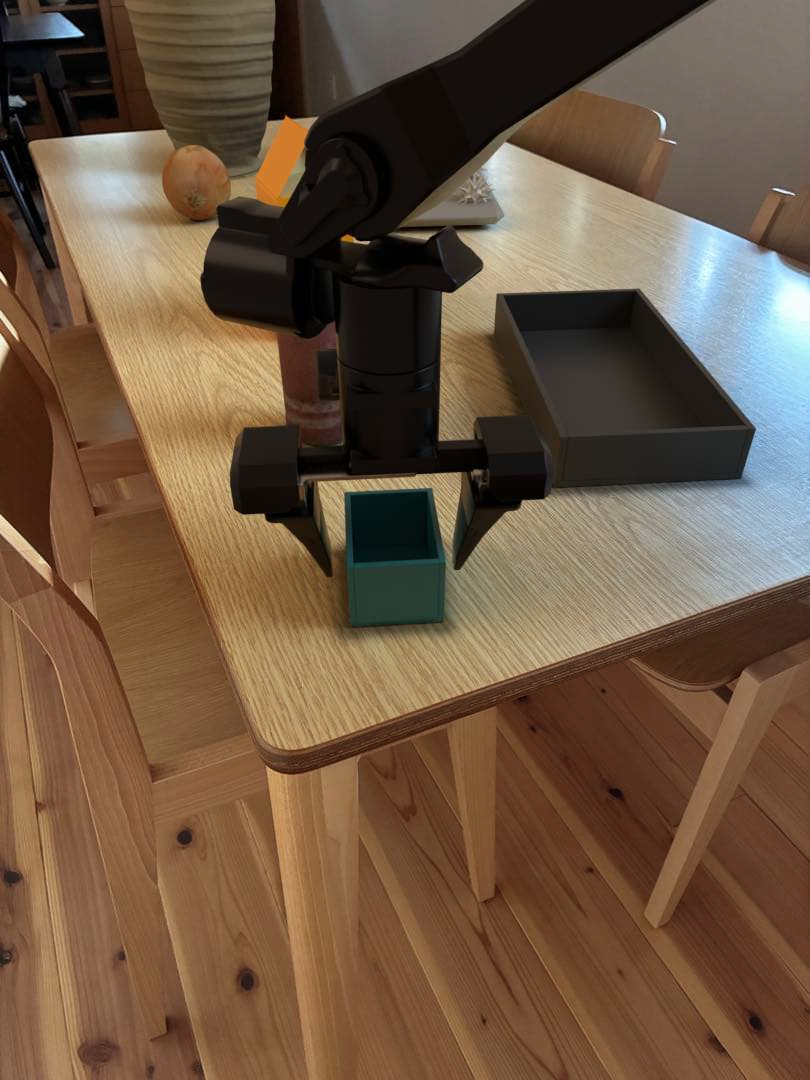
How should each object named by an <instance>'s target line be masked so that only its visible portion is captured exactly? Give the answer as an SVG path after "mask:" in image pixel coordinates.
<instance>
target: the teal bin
mask: <svg viewBox="0 0 810 1080" xmlns="http://www.w3.org/2000/svg"><path fill="white" fill-rule="evenodd" d="M343 496H344V497H343V498H344V499H343V500H344V528H345V529H344V531H345V560H346V561H345V563H346V564H345V565H346V579H347V580H346V581H347V582H346V583H347V594H348V595H347V596H348V597H347V598H348V610H349V611H348V612H349V624H350V625H349V626H350V628H362V627H363V628H364V627H380V626H396V625H397V626H398V625H412V624H413V625H414V624H430V623H444V622H445V604H446V603H445V601H446V577H447V573H446V572H447V560H446V555H445V549H444V544H443V537H442V533H441V528H440V523H439V517H438V511H437V505H436V501H435V496H434V490H433V487H423V488H421V487H420V488H402V489H401V488H399V489H381V490H380V489H379V490H359V491H344V493H343Z"/></svg>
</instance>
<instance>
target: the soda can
mask: <svg viewBox="0 0 810 1080" xmlns="http://www.w3.org/2000/svg"><path fill="white" fill-rule="evenodd" d="M276 340H277V348H278V359H279V367H280V378H281V384H282V385H281V386H282V394H283V404H284V413H285V422H286V423H285V424H286V426H289V425H299V427H300V430H301V439H302V445H306V446H310V447H322V446H336V445H337V444H340V443H342V432H341V416H340V401H323V402H320V401H319V399H318V387H317V369H316V349H337V348H336V332H335V321H334V322H332V323H330V324H328V325H327V326H326V328H325V329H324V330H323V331H322V332H321V333H320V334H319V335H318V336H316V337H314V338H310V339H304V338H299V337H295V336H290V335H286V334H282V333H277V332H276Z"/></svg>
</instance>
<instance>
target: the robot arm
mask: <svg viewBox="0 0 810 1080" xmlns="http://www.w3.org/2000/svg"><path fill="white" fill-rule="evenodd" d="M715 2H717V0H523V1H522V2H521V3H520V4H518V5H516V7H514V8H513V9H511V10H510V11H509V12H508V13H506V14H505V15H504V16H502V17H501V18H500V19H499V20H497V21H496V22H494V23H493V24H492V25H490V26H489V27H488V28H486V29H485V30H484V31H482V32H481V33H479V35H477V36H475V37H474V38H473V39H472V40H470V41H469V42H468V43H467V44H465V45H464V46H462V47H461V48H459V49H458V50H456V51H454V52H452V53H449V54H448V55H446V56H443V57H441V58H439V59H437V60H435V61H433V62H431V63H428V64H426V65H423V66H422V67H419V68H417V69H414V70H412V71H410V72H408V73H405V74H403V75H401V76H398V77H396V78H394V79H391V80H389V81H387V82H385V83H381V84H380V85H378V86H376V87H374V88H372V89H369V90H367V91H366V92H363V93H361V94H359V95H357V96H355V97H352V98H350V99H347V101H344V102H342V103H340V104H338V105H336V106H334V107H332V108H330V109H328V110H326V111H325V112H323V113H322V114H320V115H319V116H318V117H317V118H316V120H315V121H314V122H313V123H312V124H311V125H310V127H309V129H308V133H307V135H306V138H305V140H304V145H305V148H306V155H305V172H304V174H303V175H302V177H301V179H300V181H299V183H298V184H297V186H296V188H295V190H294V192H293V193H292V195H291V197H290V199H289V201H288V202H287V204H286V206H285V207H281V206H274V205H269V204H266V203H264V202H261V201H259V200H257V198H252V197H247V196H246V197H245V196H236V197H234V198H232V199H230V200H229V201H227V202H224V203H222V204H219V205H218V206H217V208H216V211H217V215H216V216H217V223H218V227H217V228H216V229H215V231H214V233H213V235H211V238H210V239H209V242H208V245H207V248H206V250H205V255H204V260H203V267H202V268H203V269H202V272H201V274H200V276H199V282H200V288H201V292H202V295H203V300H204V302H205V304H206V305H207V307H208V309H209V311H210V313H212V314H213V315H214V316H215V317H216V318H218V319H220V320H221V321H224V322H229V323H234V324H238V325H242V326H246V327H252V328H255V329H261V330H263V331H269V332H273V333H276V334H277V333H282V334H286V335H290V336H295V337H299V338H304V339H310V338H314V337H316V336H318V335H319V334H320V333H321V332H322V331H323V330H324V329H325V328H326V326H327V325H328V324H330V323H332V322H334V321H335V332H336V348H337V349H316V369H317V387H318V399H319V401H320V402H323V401H340V416H341V432H342V442H341V443H342V445H329V446H303V443H302V439H301V430H300V427H299V425H289V426H287V425H269V426H268V425H267V426H250V427H249V426H246V427H245V426H244V427H243V428H242V429H241V430H240V432H239V433H238V434H237V435H236V437H235V440H234V445H233V451H232V457H231V462H230V469H229V488H230V493H231V499H232V505H233V510H234V511H235V512H237V513H239V514H240V515H242V516H244V515H245V516H247V515H250V516H251V515H264V519H265V521H266V522H267V523H270V524H281V525H283V526H284V527H285V529H286V530H288V531H289V533H290V534H291V535H293V537H295V538H296V539H297V540H298V541H299V542H300V544H301V545H303V547H304V548H305V549H306V550H307V552H308V553H309V554H310V556H311V557H312V559H313V560H314V561H315V563H316V564H317V566H318V567H319V568H320V570H321V571H322V572H323V573H324V575H325V577H326V578H333V577H334V564H333V563H334V562H333V549H332V544H331V540H330V536H329V531H328V526H327V522H326V518H325V514H324V510H323V509H324V508H323V505H322V501H321V496H320V489H319V482H320V483H321V482H338V481H360V480H377V479H378V480H380V479H381V480H382V479H399V478H400V479H401V478H414V477H416V476H417V475H435V474H456V473H457V474H458V473H460V475H461V476H460V491H459V497H458V503H457V511H456V517H455V523H454V529H453V536H452V541H451V543H452V549H451V550H452V551H451V553H452V554H451V555H452V556H451V558H452V559H451V561H452V567H453V570H454V571H461V569H462V568H463V566H464V565H465V564H466V562H467V560H468V559H469V558H470V556H471V555H472V553H473V552H474V551H475V549H476V548H477V546H478V545H479V543H480V542H481V540H482V539H483V537H485V535H487V533H488V532H489V531H490V530H491V529H492V528H493V527H494V525H496V523H497V522H499V520H500V519H501V518H502V517H503V516H504V515H505V514H506V513H508V512H515V511H519V510H520V509H521V508H522V505H523V504H522V503H523V501H540V500H542V501H543V500H545V499H546V498H548V497H549V496H550V495H551V494H552V489H553V483H552V481H553V473H554V468H553V457H552V455H551V452H550V450H549V447H548V445H547V443H546V440H545V438H544V435H543V433H542V431H541V428H540V426H539V424H538V423H537V422H536V421H535V420H534V418H533V417H532V416H531V415H525V414H515V415H514V414H513V415H511V414H510V415H491V416H490V415H489V416H476V418H474V419H475V420H474V422H473V430H472V431H473V433H472V434H471V435H470V436H469V437H468V438H461V439H459V438H458V439H440V413H441V412H440V409H441V408H440V406H441V404H440V403H441V366H442V365H441V364H442V363H441V362H442V361H441V360H442V316H443V312H442V311H443V293H446V294H453V293H455V292H456V291H458V290H459V289H460V288H461V287H463V286H464V285H466V283H468V282H469V281H471V280H472V279H473V278H474V277H476V276H477V275H478V274H479V273H480V272H482V271H483V269H484V262H483V260H482V258H481V257H480V256H479V255H478V254H477V253H476V252H475V251H474V250H473V249H472V248H471V247H469V246H468V245H467V244H466V243H465V242H463V240H461V237H459V235H458V233H457V231H456V229H455V227H454V226H453V225H452V226H445V227H443V228H442V229H440V230H439V231H437V232H436V233H434V234H433V235H431V236H429V238H428V239H425V238H418V237H413V236H407V235H400V234H393V232H395V231H396V230H399V229H400V228H402V227H401V226H403V225H405V224H407V223H408V222H410V221H412V220H413V219H415V218H417V217H418V216H420V215H422V214H424V213H425V212H427V211H429V210H430V209H432V208H434V207H436V206H437V205H439V204H441V203H442V202H443V201H444V200H446V199H447V198H448V197H449V196H450V195H451V194H453V193H454V192H455V191H456V190H457V189H458V188H459V187H460V186H461V185H462V184H463V183H464V182H466V181H467V180H468V179H469V178H470V177H471V176H472V175H473V174H474V173H475V172H476V171H477V170H479V169H480V168H483V166H484V165H485V164H486V163H487V162H488V161H489V160H491V158H492V157H493V156H494V155H495V154H496V153H497V151H498V150H499V149H501V147H502V146H503V145H504V144H506V142H507V141H508V140H509V138H511V137H512V136H513V135H514V134H515V133H516V132H517V131H518V130H520V128H521V127H522V126H524V124H526V123H527V122H528V121H529V120H531V119H532V118H534V117H535V116H536V115H538V114H540V113H541V112H543V111H545V110H546V109H548V108H549V107H551V106H552V105H554V104H555V103H557V102H559V101H560V100H562V99H564V98H565V97H567V96H568V95H570V94H571V93H574V91H576V90H578V89H580V88H581V87H583V86H584V85H586V84H587V83H589V82H590V81H592V80H593V79H595V78H596V77H598V76H600V75H601V74H603V73H605V72H606V71H608V70H609V69H611V68H613V67H614V66H615V65H617V64H619V63H620V62H622V61H624V60H625V59H627V58H628V57H630V56H632V55H633V54H635V53H636V52H638V51H639V50H641V49H643V48H644V47H646V46H647V45H649V44H650V43H652V42H653V41H655V40H656V39H658V38H660V37H661V36H663V35H664V34H666V33H668V32H669V31H671V30H672V29H674V28H676V27H677V26H679V25H681V24H682V23H684V22H686V20H688V19H690V18H691V17H694V15H696V14H697V13H699V12H702V10H704V9H705V8H707V7H709V6H710V5H712V4H713V3H715ZM346 235H350V236H352V237H354V240H356V241H357V242H355V241H354V242H348V241H342V240H341V238H342V237H344V236H346ZM361 242H368V243H361Z"/></svg>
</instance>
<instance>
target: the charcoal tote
mask: <svg viewBox="0 0 810 1080" xmlns="http://www.w3.org/2000/svg"><path fill="white" fill-rule="evenodd" d="M494 311H495V312H494V323H493V324H494V326H493V336H494V339H495V342H496V344H497V346H498V349H499V351H500V354H501V358H502V359H503V362H504V365H505V367H506V369H507V372H508V374H509V377H510V379H511V382H512V384H513V387H514V389H515V392H516V395H517V397H518V400H519V402H520V405H521V407H522V409H523V412H524V415H531V416H532V417H533V418H534V420H535V421H536V422H537V423H538V424H539V426H540V428H541V431H542V433H543V435H544V438H545V440H546V443H547V445H548V447H549V450H550V452H551V455H552V457H553V468H554V473H553V481H552V487H553V488H572V487H573V488H574V487H575V488H576V487H593V486H594V487H595V486H612V485H613V486H614V485H615V486H616V485H617V486H618V485H635V484H636V485H637V484H655V483H656V484H657V483H675V482H678V483H679V482H693V481H694V482H695V481H698V482H699V481H713V480H714V481H715V480H716V481H717V480H736V479H742V478H743V474H744V470H745V467H746V464H747V460H748V457H749V454H750V451H751V448H752V444H753V440H754V437H755V434H756V431H757V428H756V426H755V425H754V424H753V423H752V422H751V420H750V419H749V418H748V416H746V415H745V413H744V412H743V411H742V409H740V407H739V406H738V404H736V402H735V401H734V399H733V398H732V397H731V396H730V395H729V394H728V393H727V392H726V390H725V389H724V388H723V386H722V385H721V384H720V383H719V382H718V381H717V379H716V378H715V377H714V376H713V375H712V374H711V372H710V371H709V370H708V369H707V368H706V366H705V365H704V364H703V363H702V361H700V359H699V358H698V356H696V354H695V353H694V352H693V351H692V350H691V348H690V347H689V346H688V344H687V343H686V342H685V341H684V340H683V339H682V337H680V335H679V334H678V333H677V331H676V330H675V329H674V328H673V326H672V325H671V324H670V323H669V322H668V321H667V320H666V318H665V317H664V316H663V314H662V313H661V312H660V311H659V310H658V308H657V307H656V306H655V304H653V302H652V301H651V300H650V299H649V298H648V296H647V295H645V293H644V292H643V291H642V290H641V288H616V289H615V288H613V289H611V288H610V289H591V290H590V289H588V290H587V289H585V290H559V291H558V290H557V291H530V292H529V291H528V292H527V291H526V292H503V293H502V292H501V293H500V292H498V293H496V295H495V310H494Z"/></svg>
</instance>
